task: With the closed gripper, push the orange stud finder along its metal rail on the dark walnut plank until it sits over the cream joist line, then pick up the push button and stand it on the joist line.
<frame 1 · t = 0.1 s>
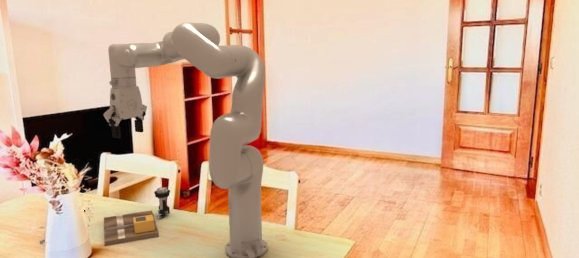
hand: (128, 134, 144), 31 cm above the table, tool pointing down, fingers open, 9 cm apart
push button: (162, 216, 155), on the table
pliers: (61, 235, 142), on the table
combination wrench: (71, 219, 154), on the table
stud finder: (143, 223, 141), point 4 cm above the table, slide at 0.0 cm
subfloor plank: (130, 228, 145), on the table
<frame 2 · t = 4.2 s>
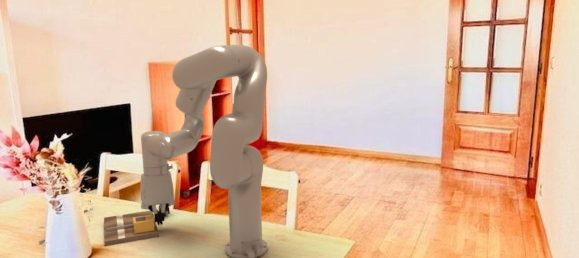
hand: (159, 223, 143), 3 cm above the table, tool pointing down, fingers closed
stud finder: (143, 223, 141), point 4 cm above the table, slide at 0.1 cm, touching gripper
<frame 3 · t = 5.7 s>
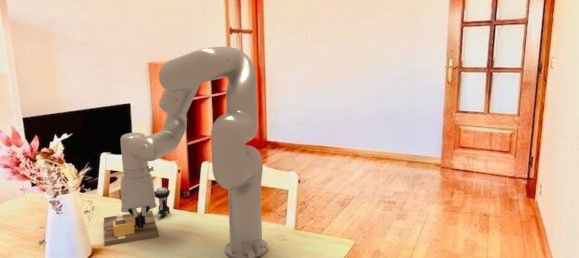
hand: (140, 226, 141), 3 cm above the table, tool pointing down, fingers closed
stud finder: (123, 226, 138), point 4 cm above the table, slide at 6.1 cm, touching gripper
everything else where it was.
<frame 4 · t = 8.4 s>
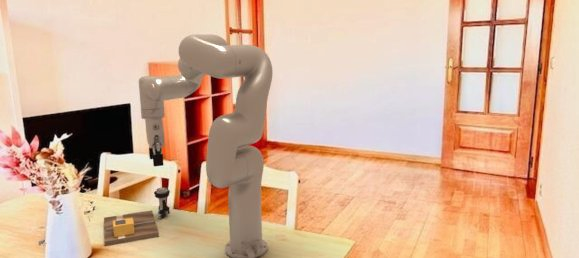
hand: (156, 162, 150), 20 cm above the table, tool pointing down, fingers open, 9 cm apart
stud finder: (123, 226, 138), point 4 cm above the table, slide at 6.1 cm
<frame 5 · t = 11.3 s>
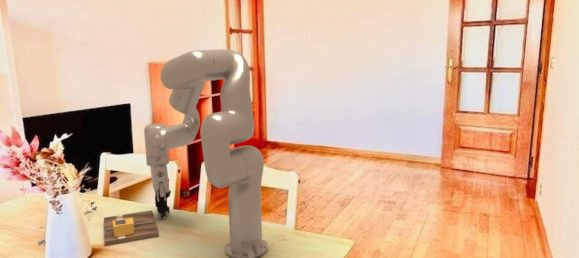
hand: (161, 208, 155), 3 cm above the table, tool pointing down, fingers closed on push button, 4 cm apart
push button: (162, 216, 155), on the table, touching gripper
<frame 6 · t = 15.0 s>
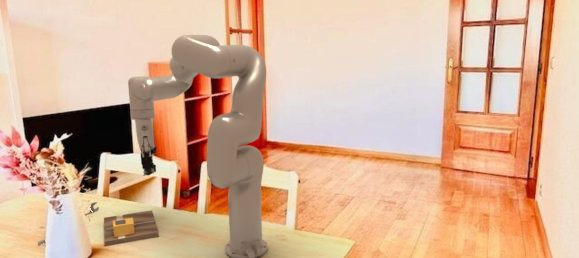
hand: (146, 165, 150), 19 cm above the table, tool pointing down, fingers closed on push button, 4 cm apart
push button: (148, 174, 150), point 16 cm above the table, touching gripper
when the fingers open (6 cm above the table, at t = 18.7 s): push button drops 1 cm, resting on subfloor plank.
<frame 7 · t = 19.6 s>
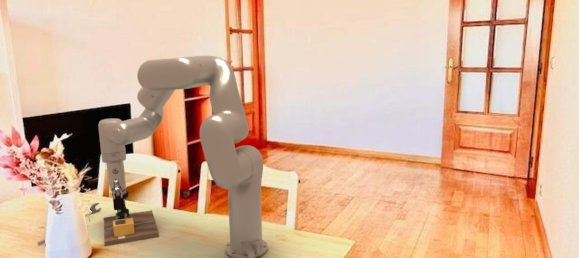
hand: (118, 204, 148), 7 cm above the table, tool pointing down, fingers open, 9 cm apart
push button: (121, 219, 150), point 1 cm above the table, touching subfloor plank
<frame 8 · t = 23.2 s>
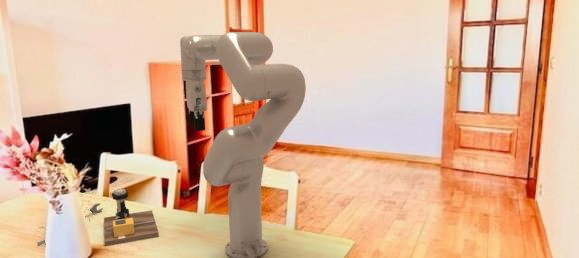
hand: (197, 127, 143), 33 cm above the table, tool pointing down, fingers open, 9 cm apart
at the end: stud finder slide at 6.1 cm; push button 0.5 cm from the target spot on the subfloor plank, point 1.4 cm above the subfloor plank's base; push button tilted 0° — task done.
